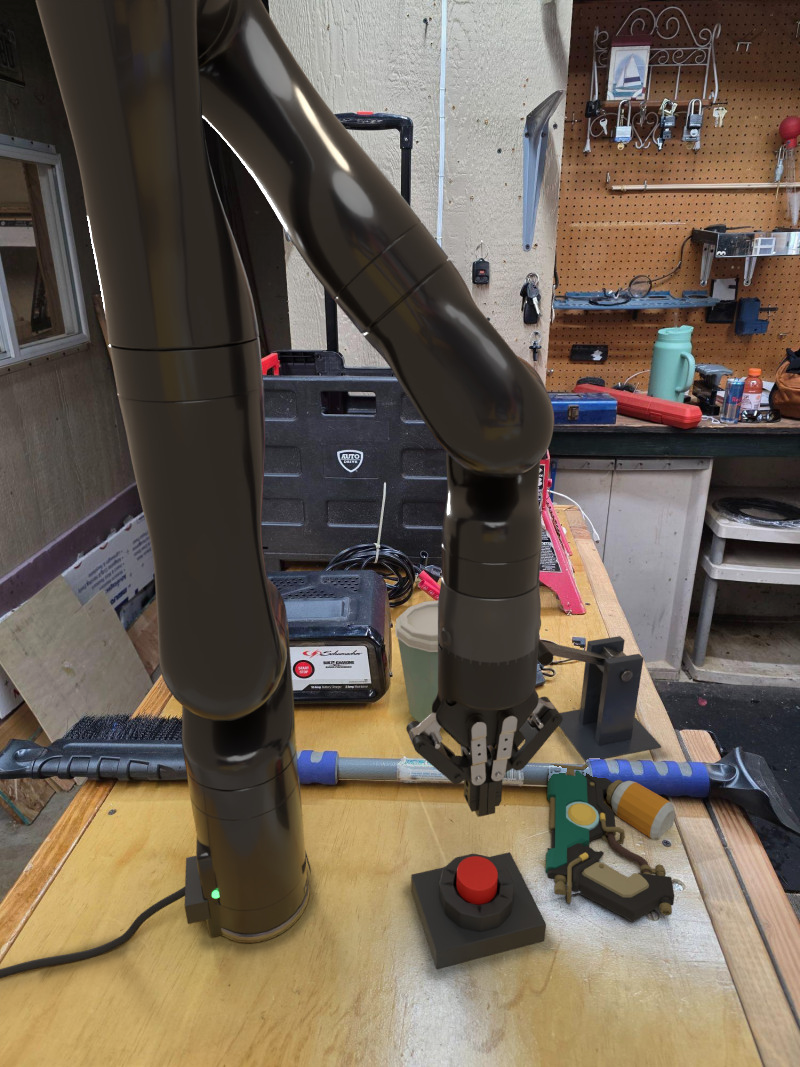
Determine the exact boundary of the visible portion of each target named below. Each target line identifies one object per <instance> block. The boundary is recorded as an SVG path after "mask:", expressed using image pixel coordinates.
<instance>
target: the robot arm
mask: <svg viewBox="0 0 800 1067" xmlns="http://www.w3.org/2000/svg"><path fill="white" fill-rule="evenodd" d="M35 4H36V8H37V11H38V15H39V18H40V21H41V22H40V23H41V26H42V30H43V33H44V36H45V40H46V44H47V48H48V51H49V55H50V58H51V62H52V66H53V70H54V73H55V77H56V81H57V84H58V88H59V91H60V95H61V99H62V102H63V106H64V111H65V113H66V117H67V121H68V126H69V129H70V133H71V137H72V141H73V146H74V149H75V154H76V158H77V164H78V168H79V173H80V179H81V185H82V190H83V197H84V204H85V209H86V210H85V211H86V217H87V221H88V227H89V228H88V229H89V233H90V239H91V244H92V249H93V254H94V260H95V265H96V270H97V276H98V281H99V285H100V291H101V297H102V302H103V309H104V315H105V324H106V333H107V341H108V344H109V345H108V347H109V352H110V357H111V364H112V369H113V375H114V376H113V377H114V381H115V385H116V393H117V398H118V403H119V407H120V413H121V416H122V420H123V425H124V426H123V427H124V430H125V435H126V440H127V444H128V451H129V454H130V461H131V464H132V469H133V474H134V478H135V483H136V487H137V491H138V495H139V500H140V504H141V508H142V512H143V516H144V519H145V523H146V527H147V528H146V529H147V532H148V536H149V542H150V547H151V553H152V561H153V571H154V572H153V573H154V585H155V600H156V601H155V602H156V617H157V619H156V620H157V646H158V650H157V652H158V664H159V670H160V674H161V676H162V679H163V682H164V684H165V686H166V688H167V689H168V691H169V692H170V694H171V695H172V697H173V698H174V699H175V700H176V701H177V703H179V704H180V705H181V707H182V708H181V711H182V712H181V748H182V754H183V761H184V767H185V772H186V778H187V785H188V791H189V797H190V803H191V809H192V815H193V821H194V827H195V834H196V842H195V844H196V846H195V848H196V849H195V850H196V851H195V855H193V856H188V857H186V858H185V880H184V881H185V882H184V886H183V887H181V888H179V889H178V890H176V891H175V892H173V893H171V894H169V895H167V896H166V897H164V898H162V899H160V900H158V901H157V902H155V903H154V904H152V905H151V906H149V907H148V908H147V909H145V910H144V911H142V912H141V913H140V914H139V915H137V917H136V918H135V920H134V921H132V923H131V925H130V926H129V927H128V929H127V930H126V931H125V932H124V933H123V934H121V935H120V936H118V937H117V938H115V939H113V940H111V941H109V942H106V943H104V944H101V945H98V946H96V947H93V948H89V949H85V950H82V951H77V952H72V953H66V954H59V955H53V956H47V957H43V958H37V959H32V960H27V961H24V962H19V963H17V964H13V965H10V966H9V965H8V966H5V967H2V968H0V979H3V978H7V977H10V976H14V975H17V974H21V973H25V972H29V971H32V970H37V969H42V968H48V967H54V966H59V965H66V964H72V963H76V962H82V961H85V960H90V959H93V958H96V957H99V956H102V955H104V954H106V953H109V952H111V951H113V950H116V949H117V948H119V947H120V946H122V945H124V944H126V943H127V942H128V941H129V940H131V939H132V938H133V936H134V935H136V933H137V932H138V930H139V929H140V927H141V926H142V925H143V924H144V923H145V922H146V921H147V920H148V919H149V918H151V917H152V916H153V915H155V914H156V913H158V912H160V911H161V910H163V909H164V908H166V907H168V906H169V905H171V904H173V903H175V902H177V901H178V900H180V899H182V898H184V911H185V916H186V921H187V924H188V925H190V924H195V923H199V922H203V921H206V924H207V931H208V935H209V936H208V937H210V938H215V937H218V936H223V937H224V938H226V939H229V940H231V941H233V942H238V943H247V944H254V943H260V942H265V941H268V940H271V939H274V938H276V937H278V936H280V935H281V934H284V933H285V932H286V931H288V930H289V929H290V928H291V927H293V925H295V924H296V922H298V920H299V919H300V918H301V916H302V915H303V913H304V912H305V910H306V907H307V906H308V902H309V899H310V879H309V875H312V869H311V865H310V864H311V863H310V860H309V857H308V854H307V850H306V843H305V831H304V821H303V820H304V819H303V818H304V817H303V808H302V794H301V782H300V772H299V758H298V748H297V746H298V745H297V735H296V734H297V733H296V715H295V697H294V696H295V695H294V685H293V673H292V660H291V659H292V658H291V645H290V644H291V643H290V632H289V618H288V613H287V607H286V603H285V601H284V598H283V596H282V594H281V592H280V590H279V589H278V587H277V586H276V585H275V583H273V581H272V580H270V578H268V575H267V569H266V563H265V555H264V548H263V534H262V533H263V531H262V526H263V524H262V522H263V521H262V520H263V518H262V516H263V502H264V486H265V485H264V483H265V463H266V405H265V404H266V402H265V387H264V386H265V385H264V374H263V364H262V352H261V342H260V337H259V336H260V331H259V324H258V319H257V315H256V314H257V313H256V306H255V302H254V298H253V294H252V291H251V286H250V283H249V279H248V276H247V273H246V269H245V265H244V263H243V260H242V257H241V254H240V251H239V248H238V244H237V242H236V240H235V236H234V235H233V231H232V229H231V225H230V223H229V221H228V218H227V215H226V212H225V209H224V206H223V203H222V201H221V197H220V194H219V192H218V188H217V185H216V182H215V178H214V174H213V170H212V166H211V162H210V157H209V153H208V146H207V141H206V140H207V139H206V133H205V125H204V120H205V121H206V122H207V123H208V124H209V125H210V127H212V129H214V130H215V131H216V133H217V134H218V135H219V136H220V137H221V138H222V139H223V140H224V142H225V143H226V144H227V145H228V146H229V147H230V149H231V150H232V151H233V153H234V154H235V155H236V156H237V157H238V159H239V160H240V161H241V163H242V164H243V166H245V168H246V170H247V171H248V173H249V174H250V175H251V177H252V178H253V179H254V181H255V183H256V184H257V185H258V187H259V189H260V190H261V192H262V193H263V195H264V197H265V198H266V200H267V201H268V203H269V205H270V206H271V208H272V210H273V212H274V214H275V215H276V216H277V219H278V220H279V222H280V224H281V226H282V227H283V229H284V230H285V233H286V234H287V236H288V237H289V239H290V241H291V242H292V244H293V245H294V247H295V249H296V250H297V252H298V254H299V255H300V256H301V258H302V260H303V261H304V263H305V264H306V265H307V267H308V268H309V269H310V271H311V272H312V274H313V275H314V277H315V278H316V279H317V281H318V282H319V283H320V284H321V286H322V287H323V289H324V290H325V291H326V292H327V293H328V295H329V296H330V297H331V299H332V300H334V301H335V303H336V304H337V306H338V307H339V309H340V310H341V311H342V312H343V313H344V314H345V315H346V317H347V318H348V320H349V321H350V322H351V323H352V324H353V325H354V327H355V328H356V329H357V330H358V332H359V333H360V334H363V337H364V339H365V340H366V341H367V342H368V344H369V345H370V346H371V347H373V349H374V350H375V351H376V352H377V353H378V355H380V356H381V357H382V359H383V360H384V361H385V362H386V364H387V366H389V368H390V369H391V372H392V373H393V375H394V376H395V379H396V380H397V382H398V383H399V386H400V387H401V389H402V390H403V392H404V393H405V395H406V397H407V398H408V400H409V401H410V402H411V404H412V406H413V407H414V409H415V411H417V414H418V415H419V417H420V419H421V420H422V422H423V423H424V425H425V426H426V427H427V429H428V430H429V431H430V433H431V434H432V436H433V437H434V439H435V440H436V442H437V443H438V444H439V445H440V447H442V449H443V450H444V451H445V457H446V458H445V459H446V460H445V461H446V489H447V490H446V502H445V507H444V512H443V519H442V526H441V527H442V528H441V564H440V565H441V568H440V570H441V572H440V573H441V578H440V586H439V587H440V588H439V594H438V599H437V601H438V693H437V696H436V698H435V699H434V701H433V703H432V714H431V715H429V716H428V717H427V718H426V719H425V720H424V721H422V722H421V723H420V722H418V721H416V720H412V721H409V722H408V724H407V725H406V729H405V730H406V733H407V734H408V737H409V739H410V742H411V744H412V747H413V749H414V751H415V753H417V754H418V755H419V756H420V757H421V758H423V759H424V760H425V761H426V762H427V763H428V764H430V765H431V766H432V767H433V768H435V770H437V771H438V772H439V773H441V774H442V775H443V777H445V778H446V779H448V780H449V782H451V783H452V784H455V785H458V784H461V783H463V797H464V799H465V801H466V803H467V805H468V808H469V809H470V812H472V813H473V812H475V814H476V816H477V818H480V817H484V816H490V815H494V814H496V807H499V806H500V805H501V803H502V797H503V779H504V778H505V777H506V773H508V772H509V771H511V770H514V771H517V772H518V771H522V770H523V769H524V768H526V767H527V765H528V764H529V762H530V761H531V760H532V759H533V758H534V756H535V755H536V754H537V753H538V752H539V750H540V749H541V748H542V747H543V746H544V744H546V742H547V741H548V740H549V738H550V737H551V736H552V735H553V733H554V732H555V731H556V730H557V729H558V727H559V725H560V724H561V722H562V720H563V718H562V716H561V714H560V713H561V712H559V710H558V709H557V708H556V707H555V705H554V704H553V702H552V701H551V699H549V697H548V696H539V693H538V691H537V690H536V686H537V685H536V684H537V674H538V662H539V661H538V646H539V639H540V631H541V627H542V618H541V613H542V607H541V606H542V602H541V601H542V600H541V590H540V576H541V575H540V573H541V561H542V560H541V556H542V545H543V524H542V515H541V509H540V504H539V484H540V483H539V481H540V471H541V470H540V469H541V460H542V458H543V457H544V456H545V454H546V452H547V451H548V449H549V447H550V444H551V441H552V438H553V434H554V429H555V411H554V406H553V402H552V400H551V397H550V394H549V392H548V391H547V388H546V386H545V383H544V382H543V379H542V378H541V376H540V374H539V373H538V371H537V370H536V369H535V367H534V366H532V364H530V363H529V362H528V361H527V360H525V359H524V358H523V357H521V356H519V355H517V354H516V353H515V352H514V350H513V349H512V348H511V347H510V345H509V344H508V342H507V341H506V340H505V339H504V338H503V337H502V335H501V334H500V333H499V332H498V330H497V329H496V328H495V327H494V326H493V324H492V323H491V322H490V321H489V319H488V318H487V317H486V315H485V314H484V313H483V312H482V311H481V310H480V308H479V307H478V306H477V304H476V302H475V299H474V298H473V296H472V294H471V291H470V289H469V286H468V285H467V282H466V281H465V280H464V278H463V277H462V274H461V273H460V271H459V270H458V269H457V267H456V266H455V264H454V262H453V261H452V260H451V259H449V256H448V254H447V253H446V251H445V250H444V249H443V248H442V246H441V245H440V244H439V242H438V241H437V240H436V239H435V237H434V236H433V234H432V233H431V232H430V230H429V229H428V228H427V227H426V225H425V224H424V223H423V222H422V220H421V218H420V217H419V216H418V215H417V213H416V212H415V210H414V209H412V207H411V206H410V205H409V203H408V201H407V200H406V199H405V198H404V197H403V195H402V194H401V193H400V192H399V191H398V190H397V188H396V187H395V186H394V184H393V183H392V182H391V181H390V180H389V178H388V177H387V176H386V174H384V172H383V171H382V170H381V169H380V168H379V166H378V165H377V164H376V163H375V161H373V159H372V158H371V157H370V156H369V155H368V153H367V152H366V151H365V149H363V147H361V145H360V144H359V143H358V141H357V140H356V139H355V138H354V137H353V135H352V134H351V133H350V132H349V131H348V129H346V127H345V126H344V125H343V123H342V122H341V121H340V119H338V117H337V116H336V114H335V113H334V112H333V111H332V109H331V108H330V107H329V106H328V104H327V103H326V102H325V100H324V99H323V98H322V96H321V94H320V93H319V92H318V90H317V89H316V88H315V86H314V85H313V83H312V82H311V81H310V79H309V78H308V76H307V74H306V72H304V70H303V69H302V68H301V66H300V64H299V62H298V61H297V60H296V58H295V56H294V55H293V53H292V52H291V50H290V49H289V47H288V46H287V43H286V42H285V41H284V39H283V37H282V35H281V33H280V32H279V30H278V28H277V26H276V25H275V23H274V21H273V19H272V17H271V16H270V14H269V12H268V10H267V8H266V6H265V4H264V3H263V1H262V0H35ZM441 729H443V730H444V731H445V732H446V733H447V734H448V735H449V736H450V737H451V738H452V739H453V740H454V741H455V742H456V743H457V744H458V745H459V746H460V755H456V753H455V752H453V750H452V749H450V747H448V746H447V745H446V744H445V743H443V737H442V735H441V733H440V732H441ZM520 746H521V747H520ZM519 747H520V748H519ZM308 870H309V873H310V874H308Z"/></svg>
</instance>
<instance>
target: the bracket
mask: <svg viewBox="0 0 800 1067" xmlns="http://www.w3.org/2000/svg"><path fill="white" fill-rule="evenodd" d="M625 642H626V640H625V639H624V638H623V637H622V636H621V635H618V636H611V637H605V638H599V639H593V640H588V641H587V644H586V651H589V652H594V653H599V654H600V653H601V651H602V649H603V647H606V648H610V649H615V650H619V651H622V652H623V653H624V648H625ZM643 666H644V656H642V655H641V654H640V653H635V654H628V655H627V656H622V657H616V658H610V659H605V665H604V673H603V672H602V671H601V670H600V669H599V667H598V666H597V665H596V664H592V663H587V662H584V671H583V680H582V688H581V697H580V705H579V709H574V710H568V711H563V712H559V713H560V714H561V716H562V718H563V720H562V722H561V724H560V725H559V726H558V727H559V729H560V730H561V732H562V733H563V734H564V736H565V737H566V738H567V739H568V741H569V742H570V744H571V745H572V746H573V748H574V749H575V750H576V752H577V753H578V754H579V756H580V757H581V759H582V760H583V761H584V764H586V760H587V759H589V758H600V759H602V760H607V759H612V758H617V757H622V756H627V755H632V754H637V753H641V752H642V753H643V752H647V751H651V750H656V749H661V748H662V745H661V744H660V743H659V742H658V741H657V739H656V738H655V737H654V736H653V735H652V734H651V733H650V732H649V731H648V730H647V729H646V727H645V726H643V724H642V723H641V722H640V721H639V720H638V719H637V717H636V711H637V704H638V697H639V692H640V691H639V690H640V684H641V679H642V678H641V677H642V670H643Z"/></svg>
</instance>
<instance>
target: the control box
mask: <svg viewBox="0 0 800 1067" xmlns="http://www.w3.org/2000/svg"><path fill="white" fill-rule="evenodd" d="M472 856H479V857H483V858H486V859H488V860H489V861H491V862H492V863H493V864H494V866H495V867H496V869H497V872H498V880H497V892H496V895H495V897H494V898H493V899H492V900H491V901H489V902H488V903H485V904H472V903H469V902H467V901H466V900H464V899H463V898H462V897H461V896H460V895H459V893H458V891H457V868H458V866H459V864H460V863H461V862H462V861H463V860H464V859H466V858H468V857H472ZM410 892H411V895H412V898H413V901H414V905H415V908H416V910H417V914H418V917H419V920H420V924H421V927H422V929H423V933H424V936H425V938H426V942H427V945H428V948H429V951H430V955H431V957H432V960H433V963H434V967H435V969H436V970H440V969H444V968H448V967H451V966H454V965H459V964H463V963H466V962H470V961H474V960H478V959H481V958H485V957H489V956H493V955H496V954H500V953H504V952H509V951H512V950H516V949H520V948H523V947H527V946H531V945H535V944H538V943H542V942H545V940H546V939H545V938H546V929H547V922H546V921H545V919H544V916H543V915H542V913H541V911H540V909H539V907H538V905H537V904H536V901H535V899H534V897H533V895H532V893H531V891H530V889H529V887H528V885H527V883H526V881H525V879H524V877H523V875H522V873H521V871H520V870H519V868H518V865H517V864H516V861H515V859H514V857H513V856H512V853H511V852H510V851H509V852H505V853H504V852H503V853H499V854H495V855H491V856H488V855H483V854H479V853H478V854H477V853H468V854H465V855H461V856H456V857H454V858H453V859H452V860H451V861H450V862H448V864H446V865H445V866H444V867H443V866H442V867H437V868H434V869H430V870H426V871H421V872H417V873H413V874H411V875H410Z"/></svg>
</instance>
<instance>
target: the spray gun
mask: <svg viewBox="0 0 800 1067" xmlns="http://www.w3.org/2000/svg"><path fill="white" fill-rule="evenodd" d="M549 765H554V766H557V767H559V766H561V767H562V768H567V772H566V773H559V774H553V775H552V776H551V778H550V779H549V781H548V783H547V782H546V784H547V785H546V788H547V789H546V798H547V801H548V802H549V832H550V833H551V836H550V837H551V838H550V839H551V841H550V845H551V847H547V850H546V853H545V874H547V876H546V877H547V878H548V879H552V880H553V882H554V885H553V886H554V888H553V889H554V890H553V893H554V894H555V895H561V896H562V898H564V897H565V896H566V903H567V904H571V902H572V896H573V897H577V896H579V894H580V895H582V896H583V897H586V898H587V899H589V900H591V901H593V902H595V903H597V904H599V905H601V906H602V907H604V908H606V909H608V910H610V911H611V912H614V913H615V914H617V915H619V916H621V917H623V918H625V919H627V920H628V921H630V922H635V921H637V920H639V919H641V918H643V917H645V915H647V914H649V913H651V912H652V911H654V910H657V908H658V909H659V912H660V914H661V915H663V916H670V915H672V913H673V907H672V906H674V904H675V892H674V885H673V879H672V877H671V876H668V875H667V872H666V869H665V867H664V865H663V864H656V865H655V868H653V867H651V865H650V864H649V863H648V861H647V860H646V859H645V858H644V857H643V856H641V855H639V854H637V853H634V852H633V851H631V850H629V849H628V848H625V847H624V846H622V845H623V844H624V843H625V838H626V834H625V830H624V829H623V828H621V827H619V826H616V818H615V815H616V816H617V817H618V818H619V819H621V820H622V821H624V822H625V823H627V824H628V825H630V826H632V827H633V828H634V829H636V830H637V831H639V832H640V833H642V834H643V835H645V836H646V837H648V838H649V839H650V840H659V839H661V838H662V836H663V835H664V834H665V833H666V832H668V830H669V829H671V828H672V826H673V824H674V822H675V819H676V812H675V807H674V805H673V803H672V802H671V801H670V800H669V799H666V798H665V797H662V796H661V795H659V794H657V793H656V792H654V791H652V790H650V789H649V788H647V787H645V786H644V785H642V784H641V783H638V782H636V781H633V780H626V781H623V780H621V779H616V780H614V781H613V782H612V781H611V780H610V779H609V778H607V777H605V778H597V777H592V776H590V775H589V774H587V773H586V776H584V775H583V774H582V773H583V771H584V770H585V769H586V768H587V767H588V766H589V765H588V764H586V763H584V764H582V765H581V766H578V765H568V764H558V763H550V764H549ZM604 796H605V799H604ZM605 800H606V801H605ZM605 802H606V803H607V804H608V805H610V806H611V808H610V807H609V806H608V805H607V804H606V803H605ZM617 833H619V838H618V840H617V839H616V837H615V836H616V834H617ZM599 838H601V840H602V841H604V842H605V843H609V845H610V846H611V847H612V848H613V849H614V850H615V851H616V852H617V853H619V854H620V855H621V856H623V857H625V858H627V859H628V860H631V861H632V862H635V863H637V864H638V865H640V868H639V869H640V872H635V873H633V874H631V875H629V876H626V875H625V874H623V873H621V872H619V871H618V870H616V869H614V868H613V867H611V866H609V865H607V864H606V863H604V862H602V861H600V859H602V857H604V855H605V851H603V850H600V851H597V850H594V849H593V848H592V847H590V842H591V841H594V840H597V839H599ZM572 892H573V893H572Z"/></svg>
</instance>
